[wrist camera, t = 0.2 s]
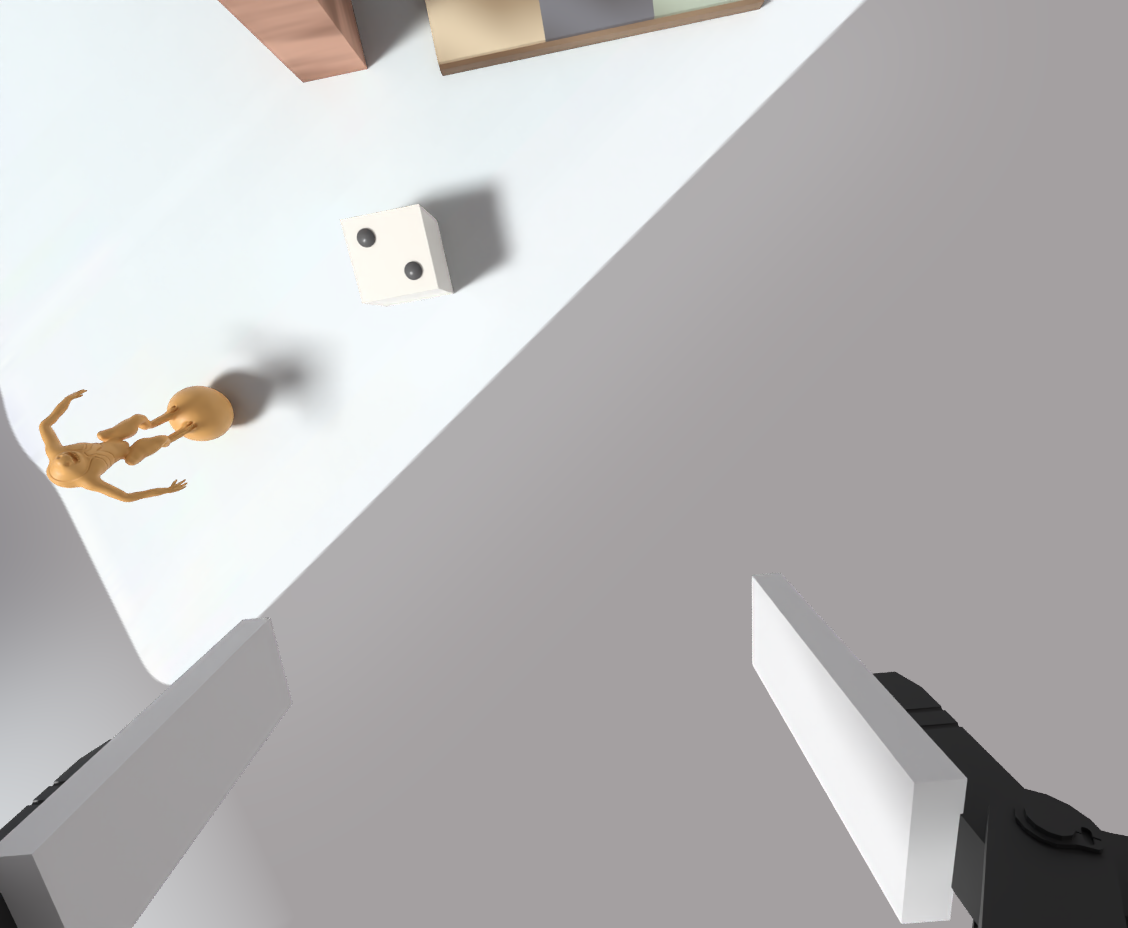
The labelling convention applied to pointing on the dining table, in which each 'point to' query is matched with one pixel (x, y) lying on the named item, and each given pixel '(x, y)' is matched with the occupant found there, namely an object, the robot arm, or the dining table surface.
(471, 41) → the board
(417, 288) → the die
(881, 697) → the robot arm
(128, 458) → the figurine
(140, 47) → the dining table surface
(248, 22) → the pawn
